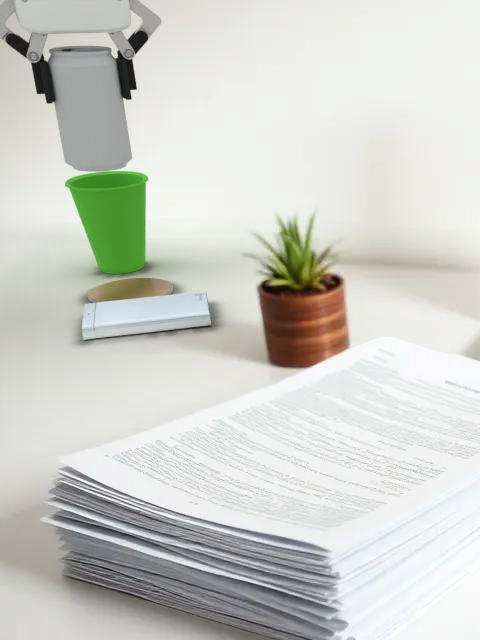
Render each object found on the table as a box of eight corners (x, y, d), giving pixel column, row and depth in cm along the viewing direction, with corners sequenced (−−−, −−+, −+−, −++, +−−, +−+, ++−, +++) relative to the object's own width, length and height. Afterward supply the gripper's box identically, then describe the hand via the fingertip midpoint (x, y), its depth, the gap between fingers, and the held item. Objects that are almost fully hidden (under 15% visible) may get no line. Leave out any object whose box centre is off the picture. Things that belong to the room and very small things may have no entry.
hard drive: (206, 289, 127) (84, 301, 123) (209, 313, 121) (80, 326, 116) (208, 303, 128) (86, 315, 123) (212, 327, 121) (83, 341, 117)
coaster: (76, 307, 126) (76, 304, 126) (102, 281, 134) (102, 278, 134) (161, 305, 127) (160, 302, 127) (182, 280, 135) (181, 276, 135)
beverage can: (86, 158, 121) (66, 42, 116) (145, 161, 121) (127, 45, 116) (53, 172, 115) (30, 50, 110) (114, 174, 115) (94, 53, 110)
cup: (74, 281, 134) (55, 189, 129) (91, 258, 142) (74, 171, 137) (155, 277, 136) (140, 187, 131) (167, 255, 144) (154, 169, 139)
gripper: (149, -90, 115) (174, 89, 122) (-48, -94, 107) (-9, 98, 114) (158, -87, 109) (184, 101, 116) (-50, -92, 101) (-8, 110, 108)
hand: (88, 97), depth 115 cm, fingers closed on beverage can, 6 cm apart
